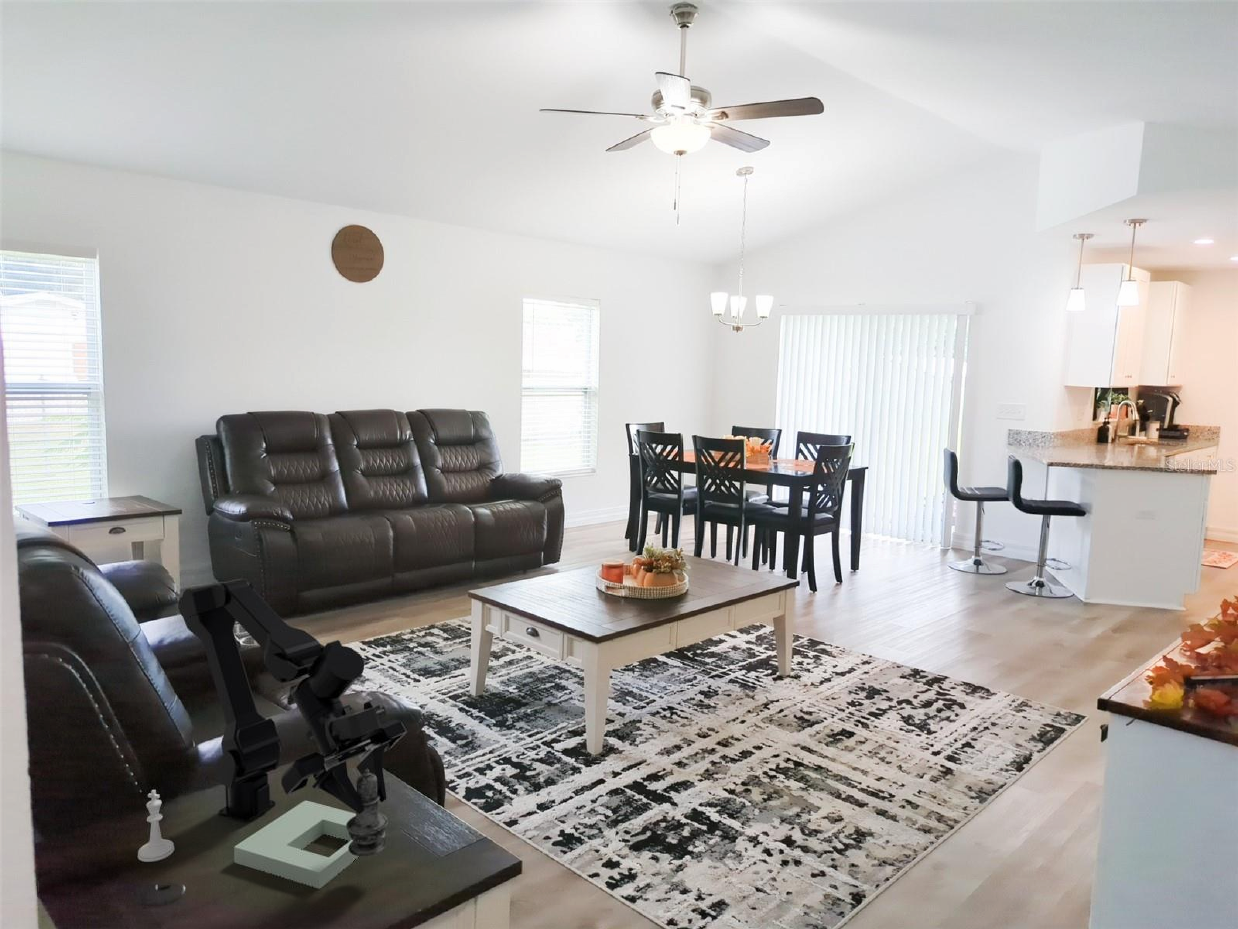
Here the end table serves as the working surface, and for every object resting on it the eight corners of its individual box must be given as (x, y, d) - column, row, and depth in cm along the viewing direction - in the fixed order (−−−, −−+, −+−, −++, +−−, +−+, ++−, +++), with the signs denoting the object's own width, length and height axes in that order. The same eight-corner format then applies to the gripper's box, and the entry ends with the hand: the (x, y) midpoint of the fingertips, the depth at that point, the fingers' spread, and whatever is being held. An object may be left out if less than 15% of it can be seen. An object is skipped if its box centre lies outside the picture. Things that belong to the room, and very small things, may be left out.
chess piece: (158, 864, 127) (155, 800, 126) (130, 859, 128) (126, 796, 127) (181, 846, 132) (179, 784, 130) (154, 841, 133) (151, 781, 131)
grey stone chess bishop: (395, 846, 125) (395, 768, 123) (359, 862, 120) (359, 782, 119) (374, 830, 128) (374, 755, 127) (338, 845, 124) (337, 768, 123)
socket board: (234, 862, 128) (234, 847, 127) (305, 814, 141) (305, 800, 141) (319, 889, 122) (319, 872, 121) (385, 836, 136) (384, 821, 135)
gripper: (292, 706, 116) (344, 809, 111) (398, 668, 131) (448, 757, 126) (259, 745, 122) (308, 844, 117) (365, 704, 137) (412, 790, 132)
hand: (373, 806), depth 123 cm, fingers closed on grey stone chess bishop, 4 cm apart
